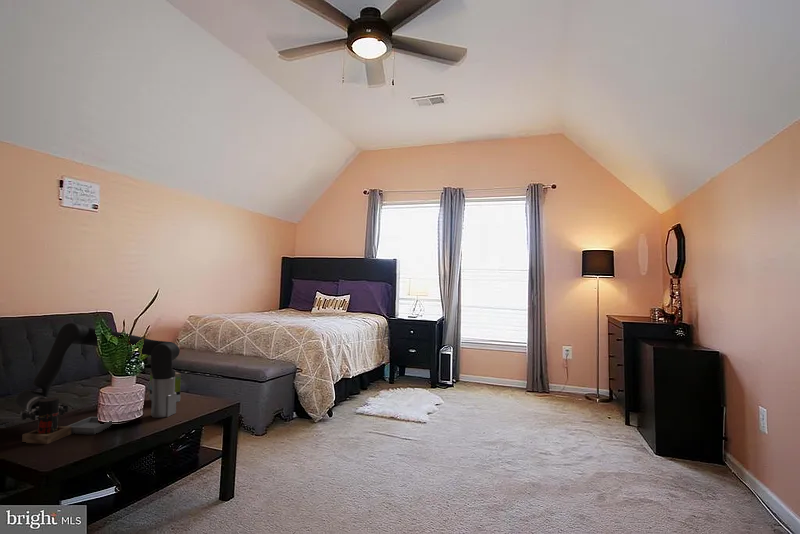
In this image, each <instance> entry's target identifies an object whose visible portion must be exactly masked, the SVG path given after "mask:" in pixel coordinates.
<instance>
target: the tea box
mask: <svg viewBox="0 0 800 534" xmlns="http://www.w3.org/2000/svg"><path fill="white" fill-rule="evenodd" d="M181 374H182V373H180V372H178V371H175V393H177V397H176V403H178V402H180V401H181V382H182V380H181V379H182V375H181ZM152 382H153V375H152V372H151V371H150V372H149V397H148V398H149V400H150V401H152Z"/></svg>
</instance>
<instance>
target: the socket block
mask: <svg viewBox="0 0 800 534" xmlns="http://www.w3.org/2000/svg"><path fill="white" fill-rule="evenodd" d="M71 428H72V427H70V426H68V425H62V426H61V425H58V428H57V431H55V432H53V433H50V434H38V428H37V429H34V430H31V431H29V432H26V433H23V434H22V436H21V437H22V438H21V442H26V443H25V444H41V445H48V444H50V443H53V442H56V441H58V440H60V439H62V438H65V437H67V436H70V435H72V433H71Z"/></svg>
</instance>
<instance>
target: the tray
mask: <svg viewBox="0 0 800 534" xmlns="http://www.w3.org/2000/svg"><path fill="white" fill-rule="evenodd" d="M98 417H99V416H88V417H86V418H84V419H81V420H79V421H76V422H74V423H71V424H68V425H67V426H70V427H72V428H71V434H74V433H75V434H76V435H77V434H79V435H96V433H97V434H99V433H101V432H103V430H104V431H106V430H108V429H110V428H111V427H110V426H111V425H112V421H109V422H106V423H104V424H100V423H98ZM109 427H110V428H109ZM107 428H108V429H107ZM105 429H106V430H105Z"/></svg>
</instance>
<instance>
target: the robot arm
mask: <svg viewBox="0 0 800 534" xmlns="http://www.w3.org/2000/svg"><path fill="white" fill-rule="evenodd" d="M95 329H96V328H92V327H90V326H87V325H85V324H80V323H75V322H68V323H65V324H63V326H62V327H61V328H60V329H59V331H58V333H57V335H56V338H55V340H54V342H53V344H52V347H51V349H50V352H49V354H48V356H47V358H46V360H45V361H44V363H43V364H42V367H41V368H40V369H39V371H38V372H37V374H36V376H35V378H34V379H33V381H32V384H33V385H34V386H35V387H38V388H39V389H41V391H40V392H39V391H36V390H30V389H24V390H22V391H20V392H19V393H18V394H17V396H16V398H15V404H16V406H18V407H20V408H23V409H22V410H20V418H21V420H22V421H25V420H27V419H28V420H32V421H35V420H36V419H38V417H39V400H41V399H45V398H49V394H50V390H51V388H52V386H53V384H54V382H55V381H56V379H57V378H58V376H59V375H60V372H61V371H62V367H63V361H64V358H65V355H66V353H67V351H68V350H69V348H71V346H72V345H85V346H94V347H98V345H97V337H96V334H95ZM109 331H110V330H109ZM110 332H111V333H112V335H114V336H116V337H119V336H120V335H121V334H122V333H123V332H120V331H110ZM125 334H126V335H129V334H130V333H125ZM142 338H143V339H144V338H145V337H142V336H137V335H133V334H130V343H131V344H132V345H134V344H135V345H136V343H137V342H138V341H139V340H141V339H142ZM180 352H181V351H180V347H179V346H178V345H177V344H176V343H174V342H172V341H165V340H164V341H163V340H156V339H150V338H145V340H144V345H143V349H142V354H143V355H144V356H150V372H152V375H153V382H152V400H151V406H150V407H151V411H150V412H151V413H150V416H152V418H156V419H157V418H168V417H171V416H173V415H175V414H176V413H177V402H176V397H177V393H175V372H176V370H175V369H173V365H172V363H173V362H172V361H173V360H176V358H178V356H179V355H180ZM143 355H142V356H143ZM68 412H69V405H68V404H66V403H62V402H61V403H60V404H59V407H58V415H60V416H64V414H65V413H68Z"/></svg>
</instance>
